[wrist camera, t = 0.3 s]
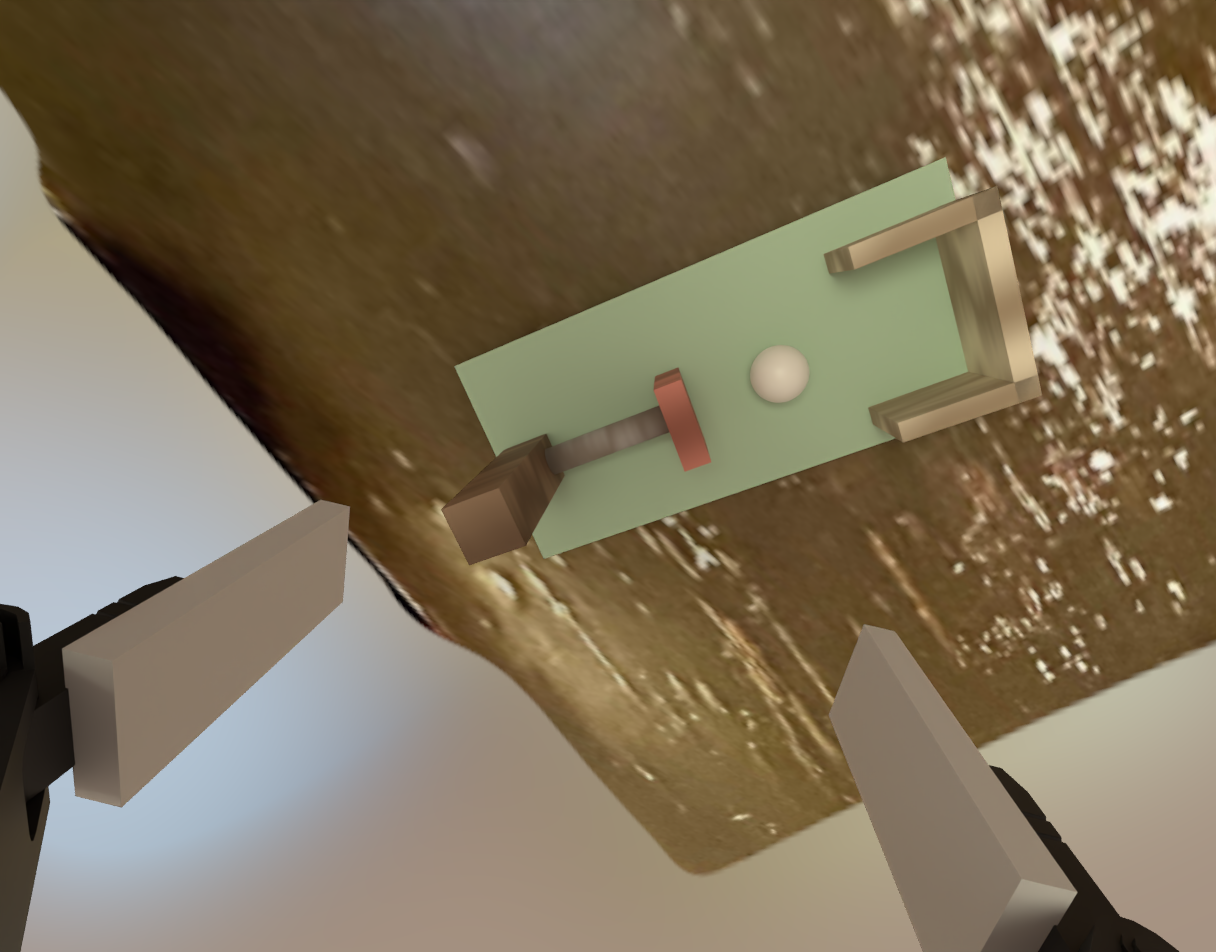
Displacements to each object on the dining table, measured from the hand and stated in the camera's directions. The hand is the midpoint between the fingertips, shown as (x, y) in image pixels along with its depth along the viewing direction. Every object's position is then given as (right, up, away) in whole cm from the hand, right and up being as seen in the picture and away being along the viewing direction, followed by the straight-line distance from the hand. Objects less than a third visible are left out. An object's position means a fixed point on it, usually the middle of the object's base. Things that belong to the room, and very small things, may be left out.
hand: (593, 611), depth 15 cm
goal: (+19, +13, +22) cm, 31 cm away
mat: (+8, +10, +24) cm, 27 cm away
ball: (+11, +10, +21) cm, 26 cm away
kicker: (0, +6, +25) cm, 25 cm away
